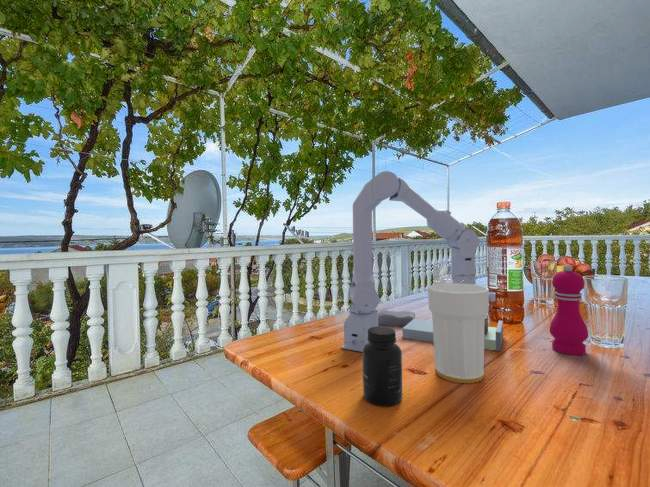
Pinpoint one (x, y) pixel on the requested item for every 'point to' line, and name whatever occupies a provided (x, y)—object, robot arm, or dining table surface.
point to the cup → (459, 330)
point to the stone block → (394, 318)
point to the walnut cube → (486, 325)
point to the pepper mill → (568, 314)
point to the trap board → (425, 332)
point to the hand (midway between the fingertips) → (464, 326)
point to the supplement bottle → (382, 367)
